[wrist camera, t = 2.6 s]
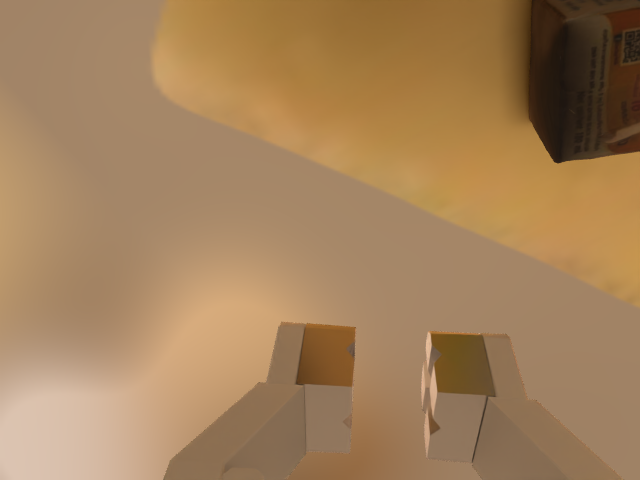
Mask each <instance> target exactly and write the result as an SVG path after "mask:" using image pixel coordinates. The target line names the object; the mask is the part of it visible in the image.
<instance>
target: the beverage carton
mask: <svg viewBox="0 0 640 480" xmlns="http://www.w3.org/2000/svg"><path fill="white" fill-rule="evenodd" d="M529 117H530V121H531V122H532V124H533V127H534V129H535V130H536V132H537V133H538V136H539V138H540V139H541V141H542V142H543V144H544V146H545V148H546V150H547V151H548V153H549V154H550V156H551V158H552V159H553V161H554V162H555V163H561V162H564V161H571V160H583V159H593V158H599V157H605V156H610V155H618V154H625V153H632V152H639V151H640V0H532V16H531V58H530V85H529Z"/></svg>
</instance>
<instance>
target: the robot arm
mask: <svg viewBox="0 0 640 480" xmlns="http://www.w3.org/2000/svg"><path fill="white" fill-rule="evenodd" d="M355 334H356V327H348V326H335V325H322V324H310V323H309V324H308V323H307V324H303V323H290V322H281V323H280V325H279V327H278V331H277V336H276V341H275V345H274V350H273V354H272V359H271V363H270V368H269V373H268V377H267V381H266V383H261V382H259V383H257V384H256V385H255V386H254V387H253V388H252V389H251V390H250V391H248V392H247V393H246V394H245V395H244V396H243V397H242V398H241V399H239V400H238V401H237V402H236V403H235V404H234V405H232V406H231V407H230V408H229V409H228V410H227V411H226V412H224V413H223V414H222V415H221V416H220V417H219V418H218V419H217V420H216V421H214V422H213V423H212V424H211V425H210V426H209V427H207V428H206V429H205V430H204V431H203V432H202V433H201V434H199V435H198V436H197V437H196V438H195V439H194V440H193V441H191V443H189V444H188V445H187V446H186V447H185V448H184V449H183V450H181V451H180V452H179V453H178V454H177V455H176V456H174V457H173V458H172V459H171V460H170V462H169V465H168V468H167V471H166V474H165V476H164V479H163V480H286V479H287V478H288V476H289V475H290V474H291V473H292V471H293V470H294V469H295V468H296V466H297V465H298V464H299V462H300V461H301V460H302V458H303V457H304V456H305V455H306V451H310V452H333V453H350V442H351V425H352V406H353V386H354V361H355V336H356V335H355ZM426 356H427V360H426V361H424V363H423V370H422V383H421V397H422V410H423V411H424V412H425V414H426V419H425V426H424V435H425V446H426V456H427V459H433V460H443V461H453V462H463V463H472V466H473V468H474V469H475V470H476V472H477V473H478V474H479V476H480V477H481V479H482V480H624V479H623V478H621V476H619V475H618V474H617V473H616V472H615V471H614V470H613V469H612V468H611V467H609V466H608V465H607V464H606V463H605V462H604V461H603V460H602V459H600V458H599V457H598V456H597V455H596V454H595V453H594V452H593V451H592V450H591V449H590V448H588V447H587V446H586V445H585V444H584V443H583V442H582V441H581V440H580V439H578V438H577V437H576V436H575V435H574V434H573V433H572V432H571V431H570V430H569V429H568V428H566V427H565V426H564V425H563V424H562V423H561V422H560V421H559V420H558V419H556V418H555V417H554V416H553V415H552V414H551V413H550V412H549V411H548V410H546V409H545V408H544V407H543V406H542V405H541V404H540V403H539V402H537V400H530V399H528V398H527V395H526V391H525V388H524V384H523V381H522V377H521V374H520V371H519V367H518V364H517V360H516V357H515V353H514V350H513V347H512V343H511V340H510V337H509V336H508V335H507V334H489V333H481V334H478V333H459V332H437V331H428V334H427V339H426Z"/></svg>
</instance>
